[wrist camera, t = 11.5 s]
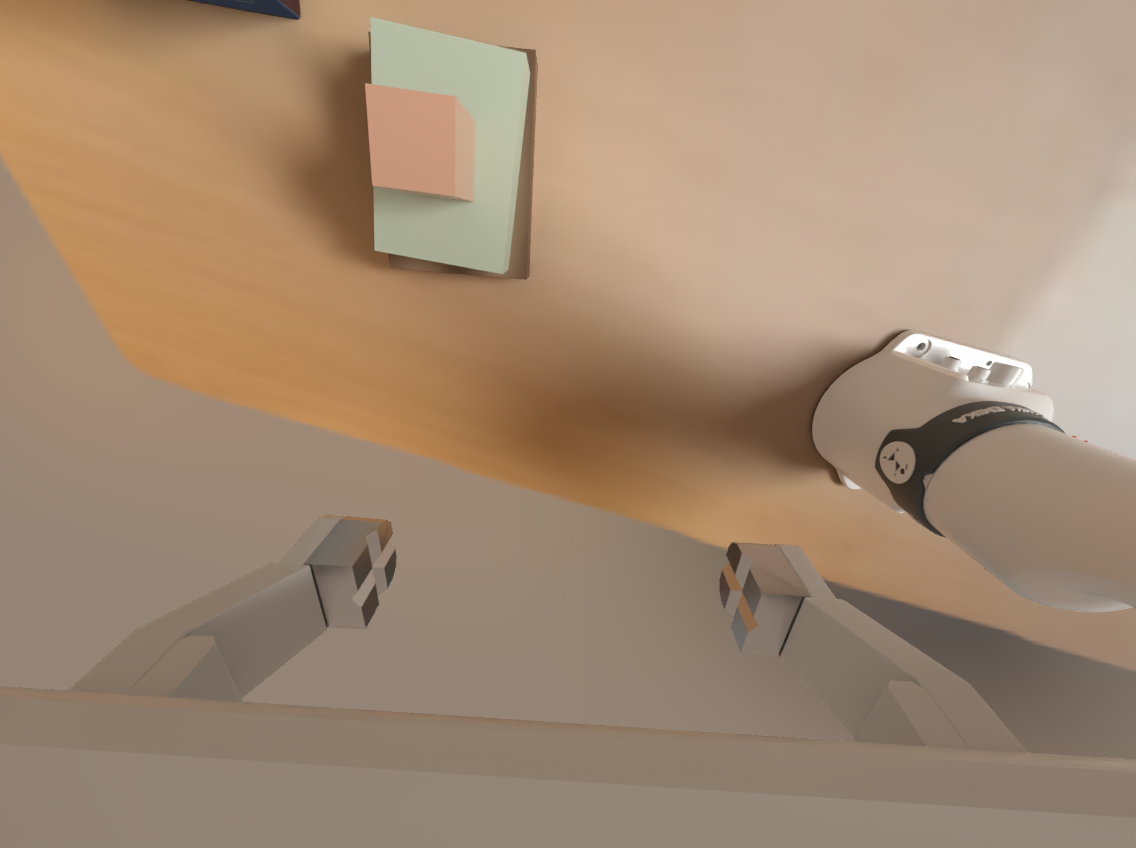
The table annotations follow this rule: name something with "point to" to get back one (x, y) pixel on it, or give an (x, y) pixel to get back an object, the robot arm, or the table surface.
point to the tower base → (523, 207)
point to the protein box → (262, 6)
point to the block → (420, 142)
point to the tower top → (498, 106)
